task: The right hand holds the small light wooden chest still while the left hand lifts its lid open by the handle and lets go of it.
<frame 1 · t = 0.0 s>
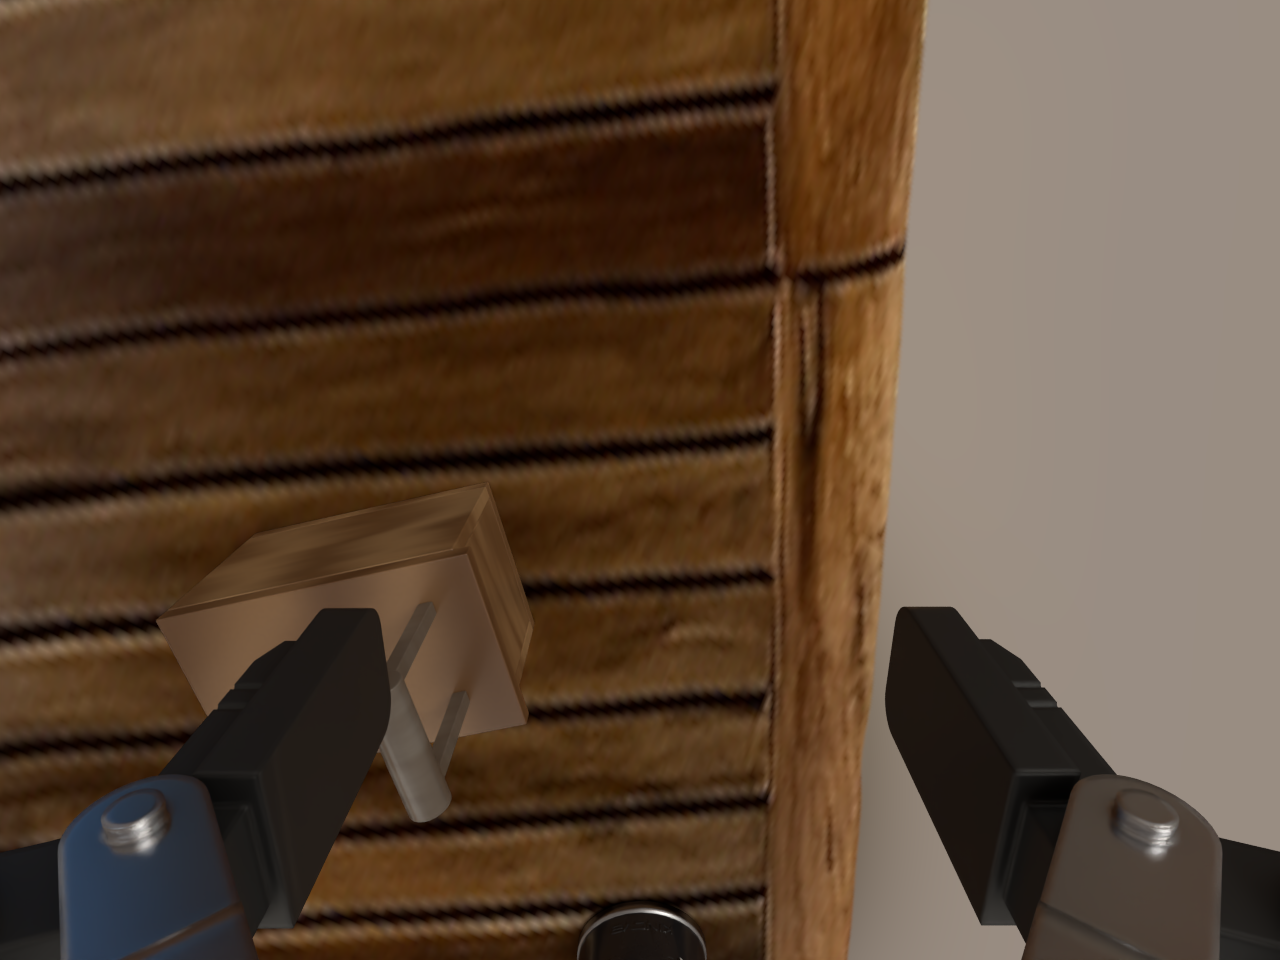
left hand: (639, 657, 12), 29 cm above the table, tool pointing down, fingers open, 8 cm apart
chest: (398, 579, 44), on the table
lid: (319, 717, 32), point 13 cm above the table, hinge at 0.0°
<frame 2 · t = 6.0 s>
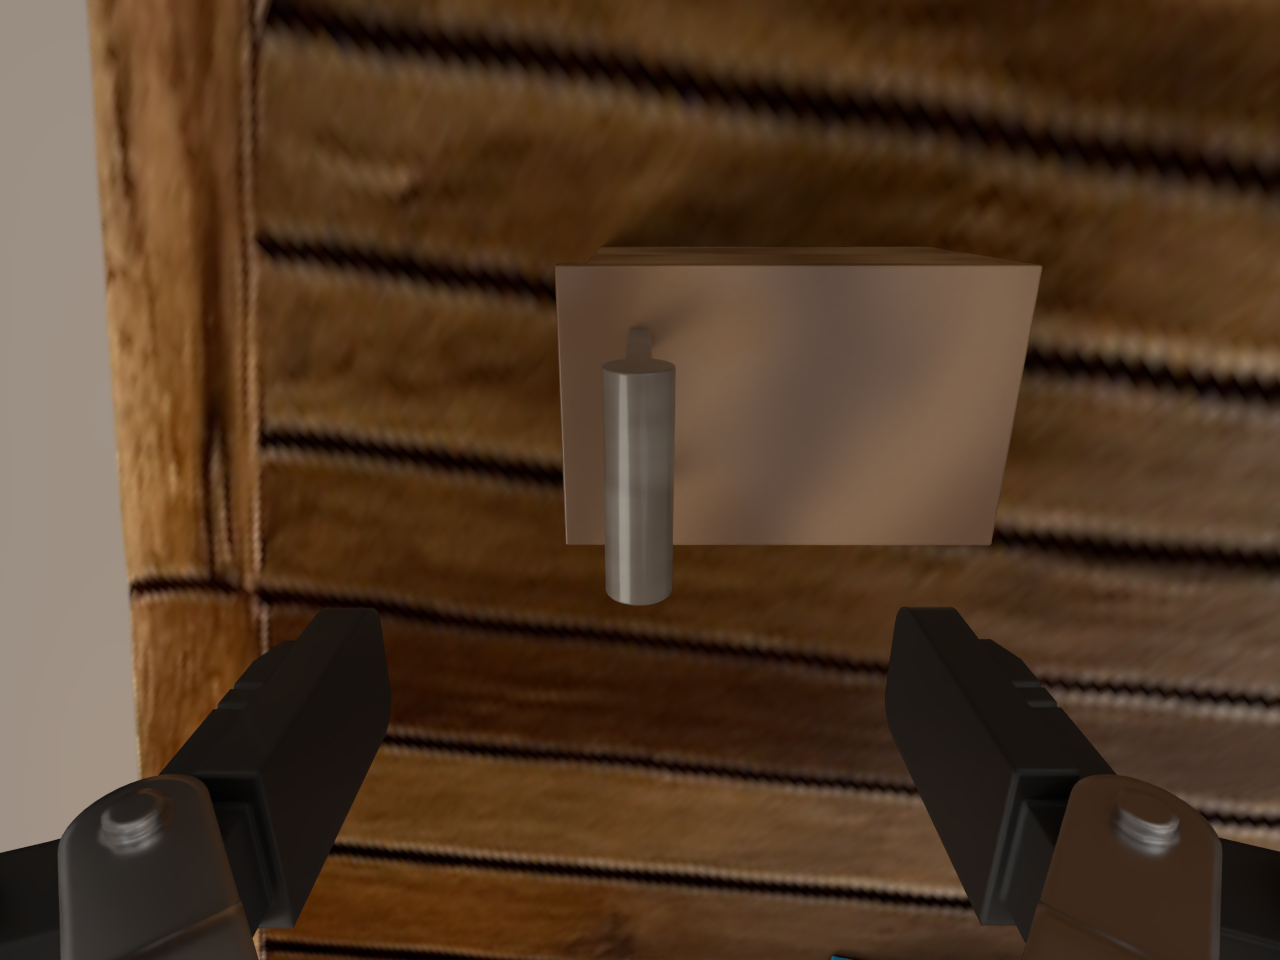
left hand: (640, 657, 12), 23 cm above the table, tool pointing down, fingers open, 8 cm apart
chest: (758, 357, 33), on the table
lid: (808, 444, 21), point 13 cm above the table, hinge at 0.0°
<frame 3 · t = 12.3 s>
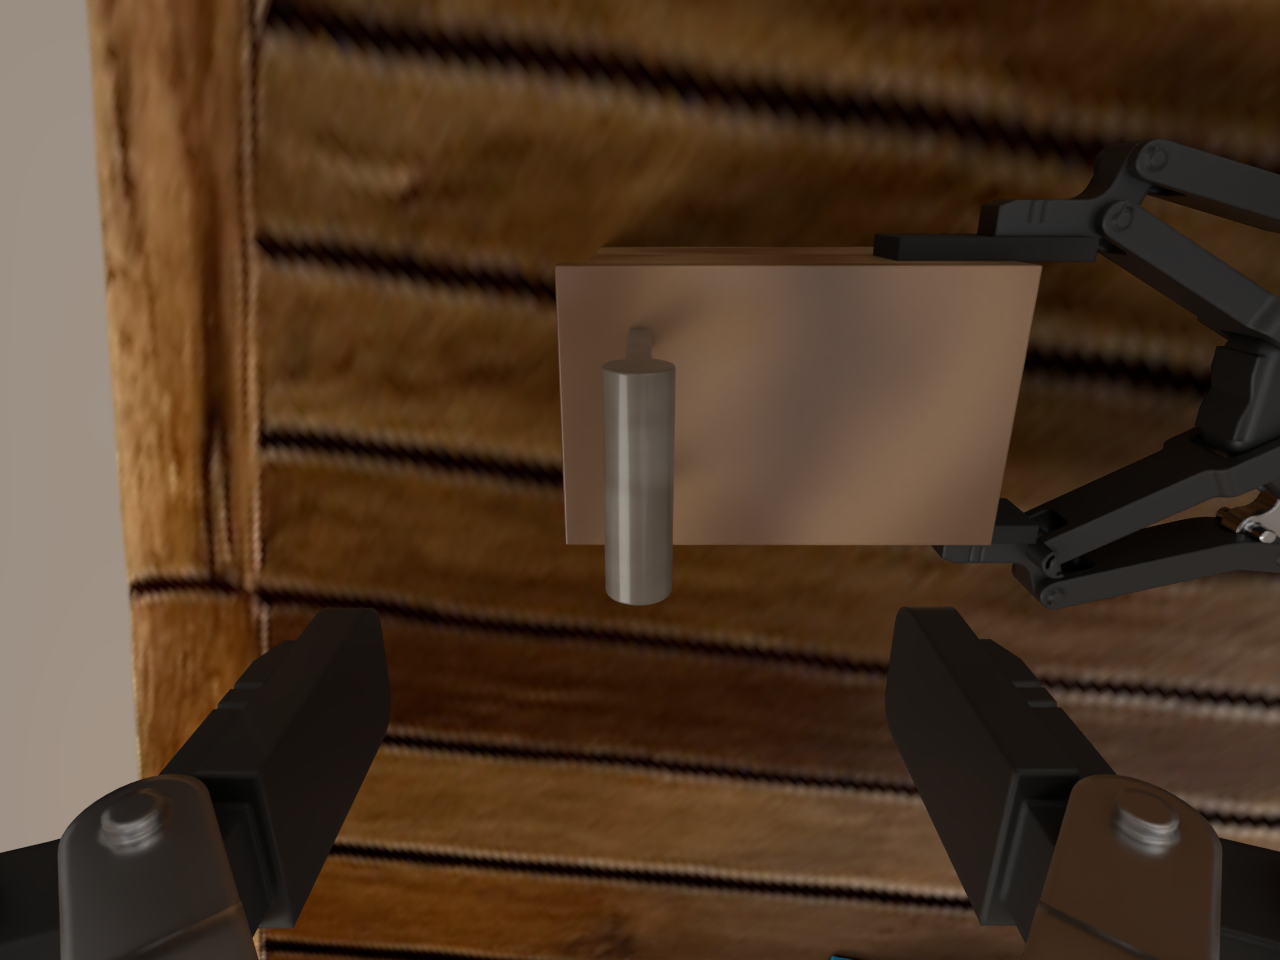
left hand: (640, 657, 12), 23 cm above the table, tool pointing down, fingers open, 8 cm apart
right hand: (869, 393, 27), fingers closed on chest, 9 cm apart
chest: (758, 357, 33), on the table, touching right hand
lid: (808, 444, 21), point 13 cm above the table, hinge at 0.0°
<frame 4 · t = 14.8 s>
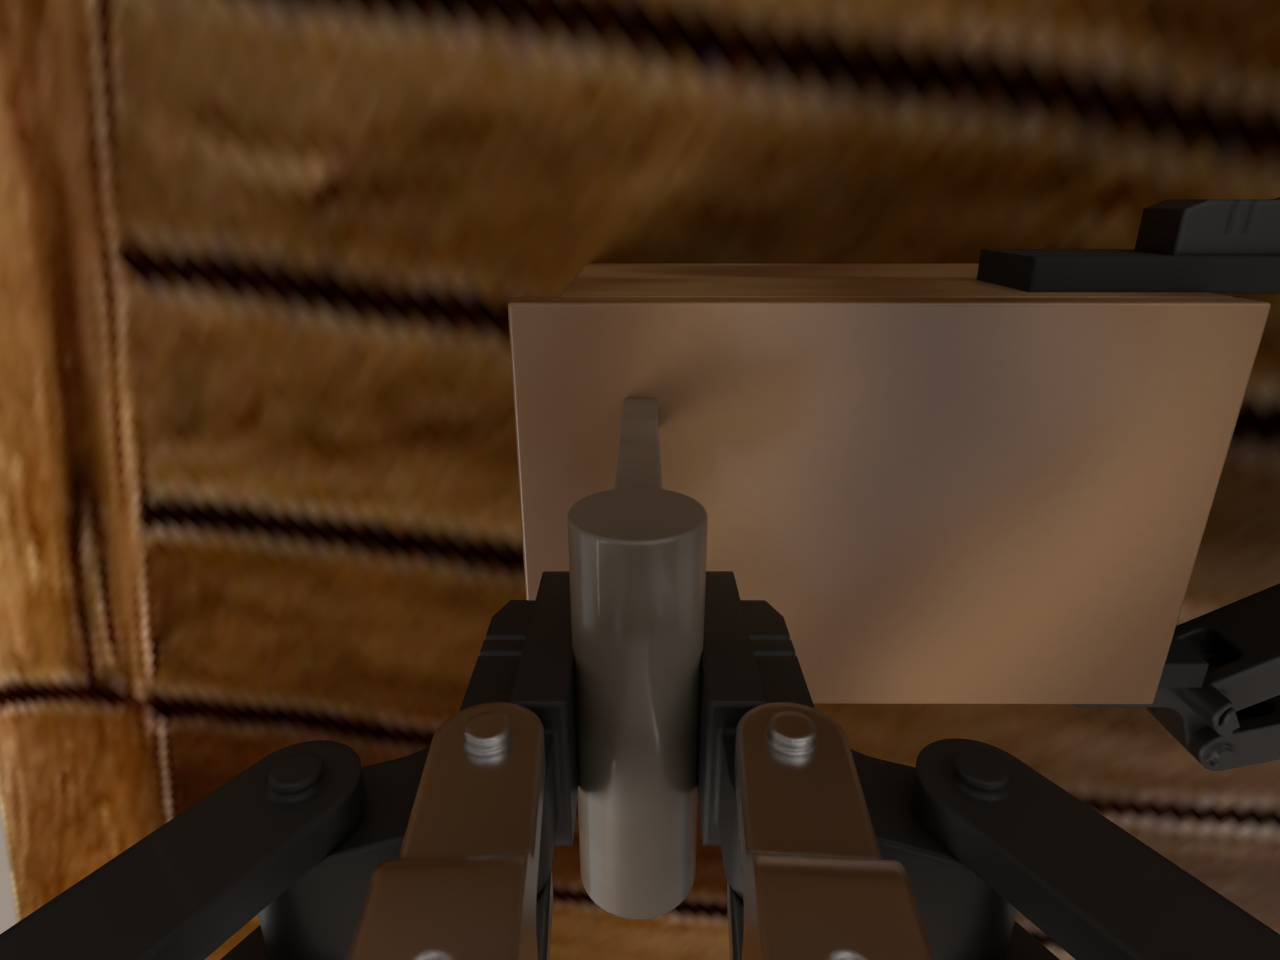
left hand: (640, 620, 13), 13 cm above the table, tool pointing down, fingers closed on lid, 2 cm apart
chest: (798, 409, 25), on the table, touching right hand
lid: (912, 596, 13), point 13 cm above the table, hinge at -0.1°, touching left hand
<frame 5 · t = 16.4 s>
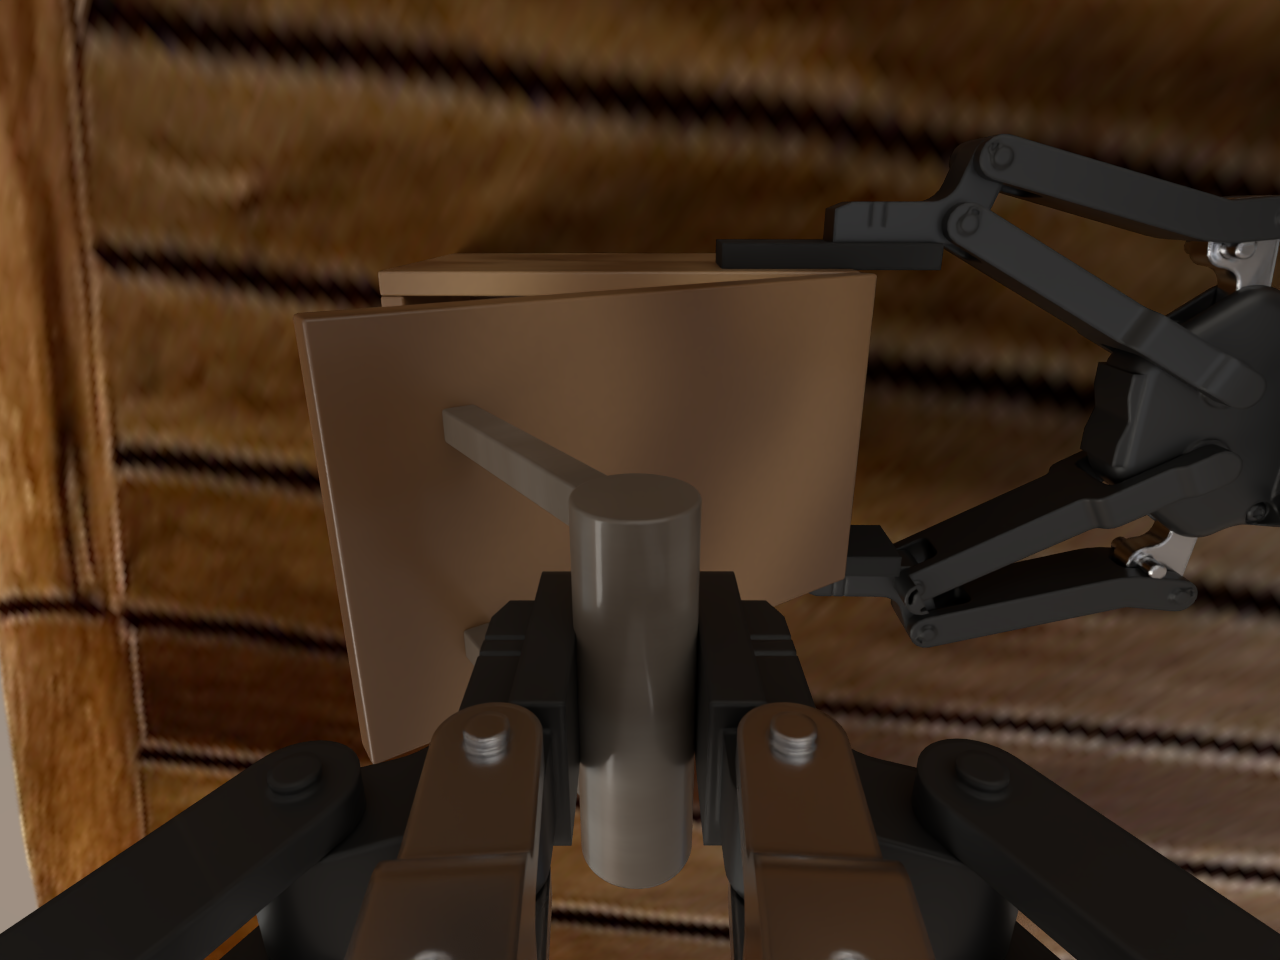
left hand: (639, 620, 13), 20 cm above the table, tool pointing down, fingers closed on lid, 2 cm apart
right hand: (713, 411, 25), fingers closed on chest, 9 cm apart
chest: (629, 370, 31), on the table, touching right hand
lid: (743, 532, 16), point 16 cm above the table, hinge at 36.0°, touching left hand
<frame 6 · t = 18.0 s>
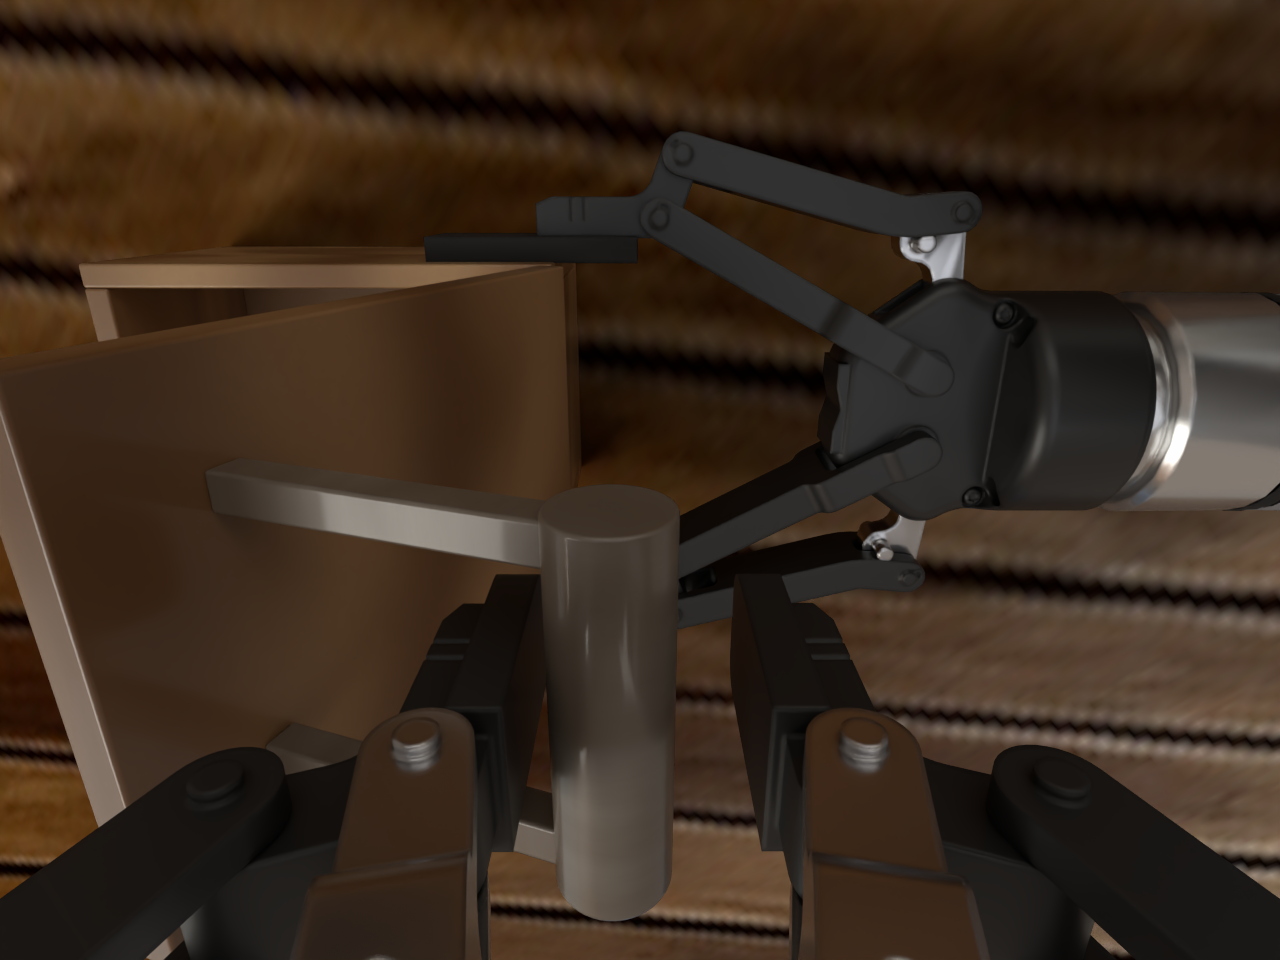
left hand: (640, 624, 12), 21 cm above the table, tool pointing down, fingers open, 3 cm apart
right hand: (450, 401, 26), fingers closed on chest, 9 cm apart
chest: (414, 362, 32), on the table, touching right hand
lid: (558, 534, 16), point 17 cm above the table, hinge at 70.5°
when the right hand's fingers open (6 cm above the table, at t = 22.0 s): chest stays where it is, on the table.
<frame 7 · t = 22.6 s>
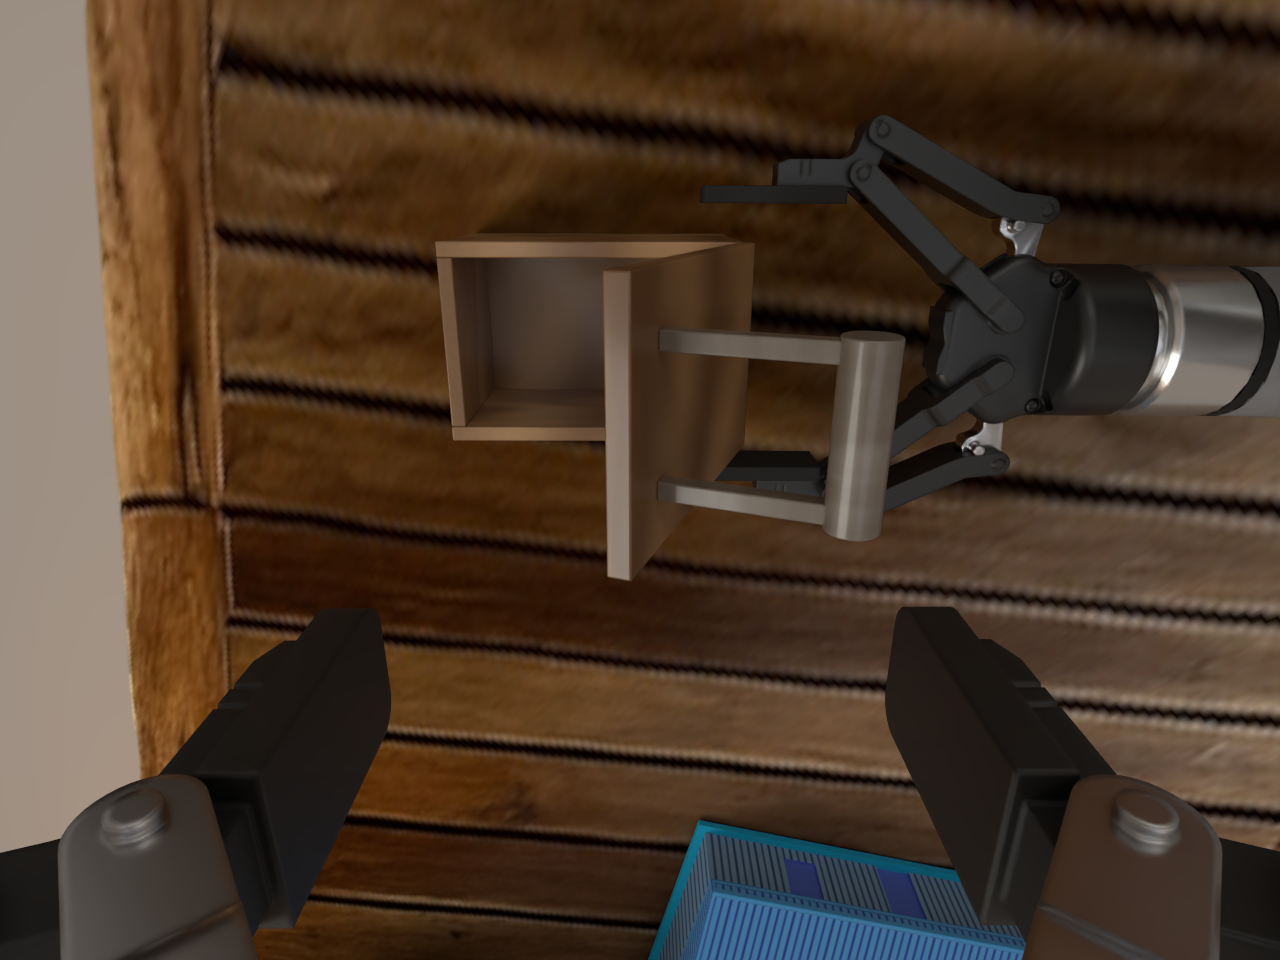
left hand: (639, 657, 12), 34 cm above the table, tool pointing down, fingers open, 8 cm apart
right hand: (696, 338, 37), fingers open, 13 cm apart
chest: (600, 318, 44), on the table
lid: (786, 390, 27), point 17 cm above the table, hinge at 68.9°
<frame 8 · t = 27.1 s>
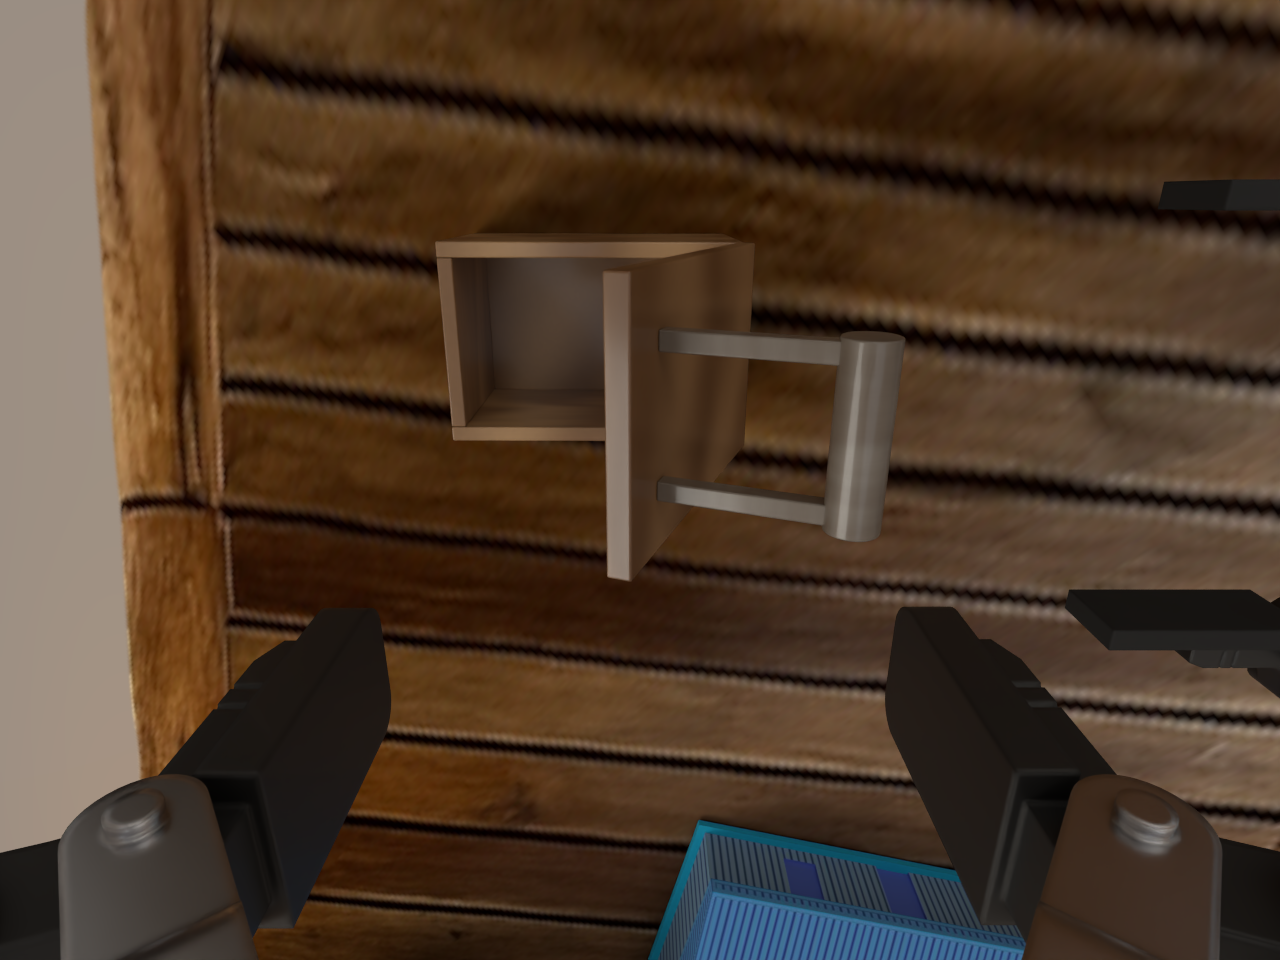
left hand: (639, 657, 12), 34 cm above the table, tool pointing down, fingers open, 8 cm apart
chest: (600, 318, 44), on the table
lid: (786, 391, 27), point 17 cm above the table, hinge at 68.9°
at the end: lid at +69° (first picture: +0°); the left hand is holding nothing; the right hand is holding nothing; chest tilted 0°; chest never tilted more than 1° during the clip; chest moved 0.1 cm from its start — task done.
